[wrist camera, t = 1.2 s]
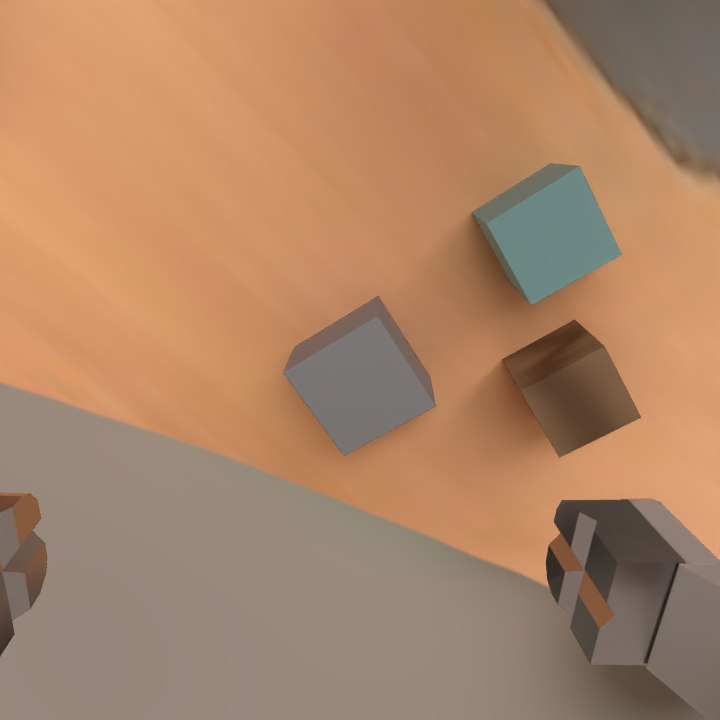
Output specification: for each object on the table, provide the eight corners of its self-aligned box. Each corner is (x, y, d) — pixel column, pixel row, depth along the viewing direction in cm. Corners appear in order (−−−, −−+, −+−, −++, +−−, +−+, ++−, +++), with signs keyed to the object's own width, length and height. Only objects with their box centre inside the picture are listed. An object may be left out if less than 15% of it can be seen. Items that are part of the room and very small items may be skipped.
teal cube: (550, 163, 34) (579, 166, 29) (587, 239, 36) (621, 254, 31) (471, 212, 35) (486, 223, 30) (511, 283, 37) (531, 305, 32)
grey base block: (378, 295, 38) (377, 316, 33) (429, 375, 40) (435, 406, 35) (295, 346, 39) (282, 372, 35) (348, 421, 41) (344, 455, 37)
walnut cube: (574, 319, 38) (604, 346, 33) (607, 382, 39) (641, 417, 34) (502, 359, 39) (520, 390, 34) (537, 418, 40) (559, 457, 35)
